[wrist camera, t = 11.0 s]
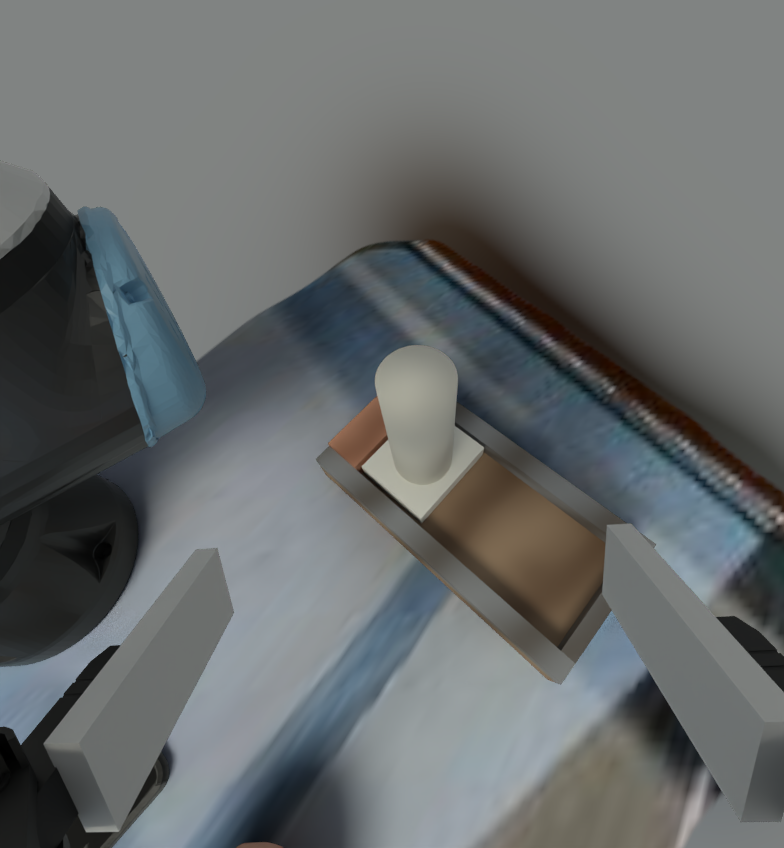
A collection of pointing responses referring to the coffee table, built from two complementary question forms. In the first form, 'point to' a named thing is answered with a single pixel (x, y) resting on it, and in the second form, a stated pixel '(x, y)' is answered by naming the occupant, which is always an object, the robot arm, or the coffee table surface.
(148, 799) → the phone
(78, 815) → the robot arm
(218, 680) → the coffee table surface
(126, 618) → the coffee table surface
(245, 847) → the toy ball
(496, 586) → the track
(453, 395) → the disc
